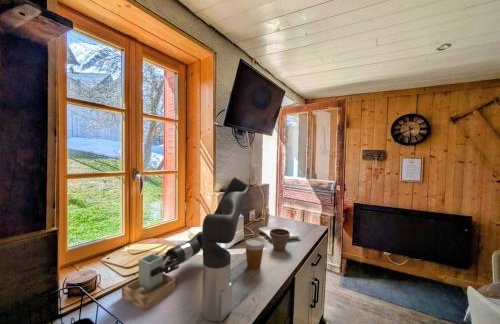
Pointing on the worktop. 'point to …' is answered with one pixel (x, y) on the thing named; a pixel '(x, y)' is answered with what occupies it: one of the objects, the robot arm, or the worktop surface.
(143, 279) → the square green vase
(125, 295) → the pine crate
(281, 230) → the flower pot
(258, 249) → the disposable coffee cup
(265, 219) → the worktop surface
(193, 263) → the worktop surface
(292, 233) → the salad plate
